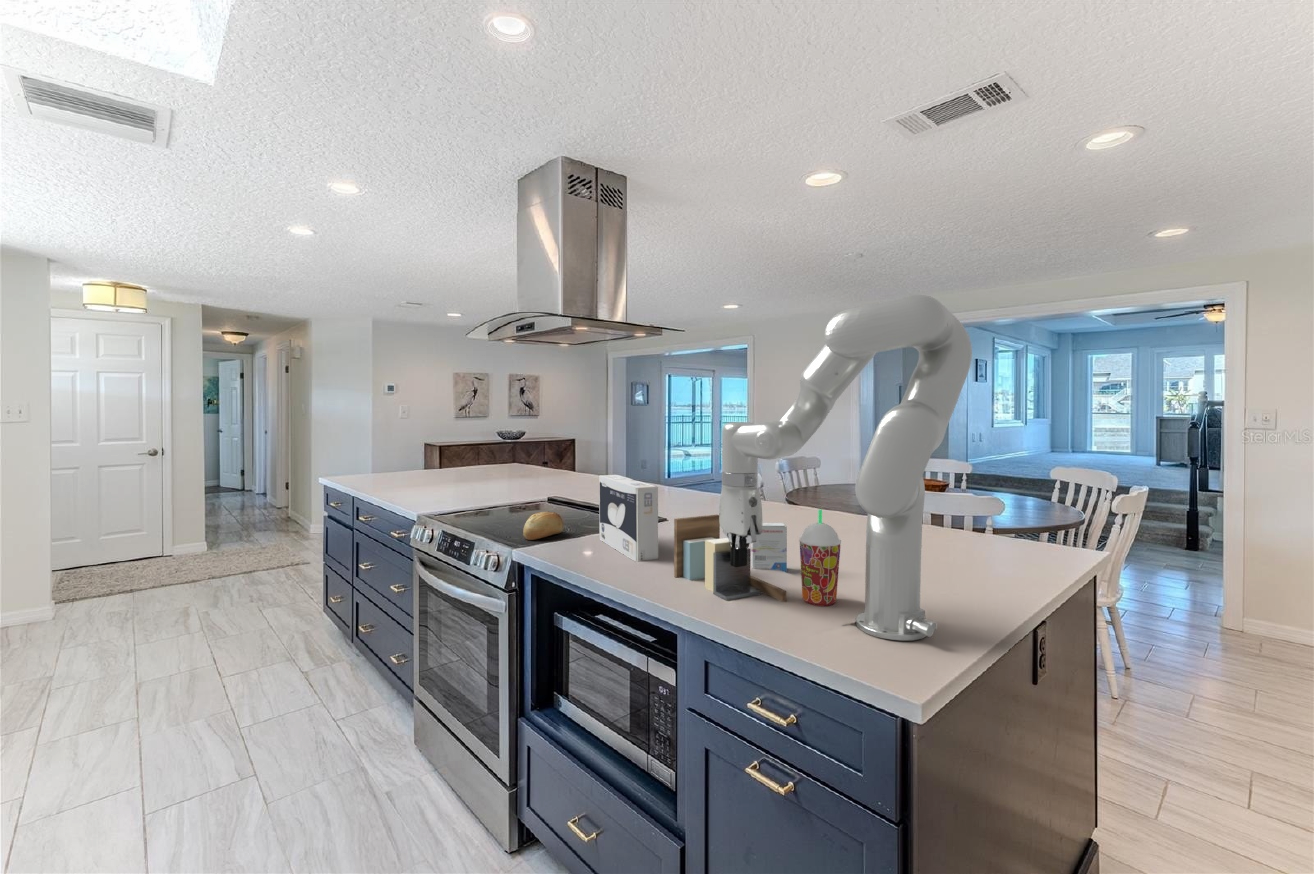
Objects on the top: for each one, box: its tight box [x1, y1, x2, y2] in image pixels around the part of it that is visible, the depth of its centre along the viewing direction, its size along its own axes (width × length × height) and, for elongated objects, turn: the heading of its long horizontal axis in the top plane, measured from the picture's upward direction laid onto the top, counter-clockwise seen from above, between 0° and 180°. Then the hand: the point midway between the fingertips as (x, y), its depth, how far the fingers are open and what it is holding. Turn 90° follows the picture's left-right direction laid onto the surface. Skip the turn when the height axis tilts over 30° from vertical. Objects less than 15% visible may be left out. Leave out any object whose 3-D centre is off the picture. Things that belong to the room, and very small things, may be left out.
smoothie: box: [798, 509, 842, 607], centre depth 123 cm, size 8×8×20 cm
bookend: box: [712, 547, 762, 601], centre depth 127 cm, size 5×9×9 cm, turn 117°
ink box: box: [750, 522, 788, 573], centre depth 149 cm, size 9×5×12 cm, turn 84°
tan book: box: [704, 537, 731, 593], centre depth 132 cm, size 4×8×11 cm, turn 117°
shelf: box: [673, 514, 787, 602], centre depth 132 cm, size 27×12×15 cm, turn 27°
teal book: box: [682, 537, 716, 581], centre depth 141 cm, size 3×8×9 cm, turn 117°
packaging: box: [598, 474, 659, 563], centre depth 170 cm, size 30×6×20 cm, turn 25°
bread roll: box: [522, 511, 565, 541], centre depth 188 cm, size 10×15×8 cm, turn 145°
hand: (738, 565), depth 127 cm, fingers closed
